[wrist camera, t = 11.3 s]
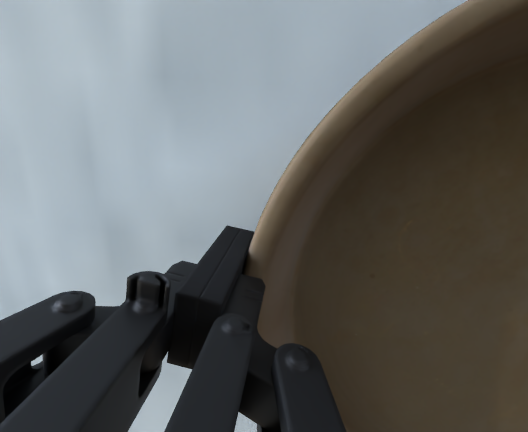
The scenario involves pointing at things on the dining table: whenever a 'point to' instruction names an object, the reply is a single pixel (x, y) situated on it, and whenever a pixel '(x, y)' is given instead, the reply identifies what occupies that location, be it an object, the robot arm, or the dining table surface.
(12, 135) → the dining table surface
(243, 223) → the dining table surface
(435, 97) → the plant saucer
